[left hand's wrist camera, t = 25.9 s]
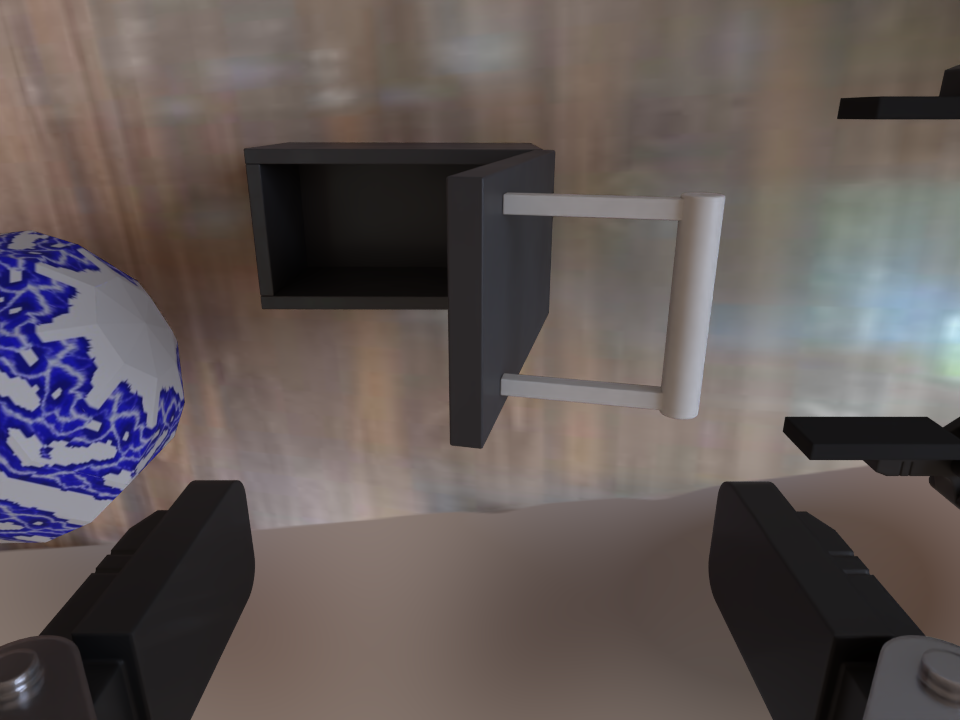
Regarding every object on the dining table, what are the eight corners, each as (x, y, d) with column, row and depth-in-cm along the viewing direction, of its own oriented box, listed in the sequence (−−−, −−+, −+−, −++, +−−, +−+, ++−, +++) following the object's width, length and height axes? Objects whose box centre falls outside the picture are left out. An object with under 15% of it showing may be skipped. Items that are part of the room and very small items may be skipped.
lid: (449, 446, 24) (702, 474, 22) (445, 176, 21) (741, 183, 19) (528, 312, 40) (678, 322, 38) (533, 149, 37) (697, 152, 35)
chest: (299, 275, 49) (261, 309, 41) (287, 142, 46) (243, 148, 37) (527, 275, 49) (537, 310, 41) (531, 143, 46) (543, 149, 37)
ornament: (229, 534, 40) (-37, 648, 43) (256, 333, 55) (57, 428, 58) (-76, 300, 27) (-428, 484, 30) (66, 120, 42) (-178, 255, 45)
